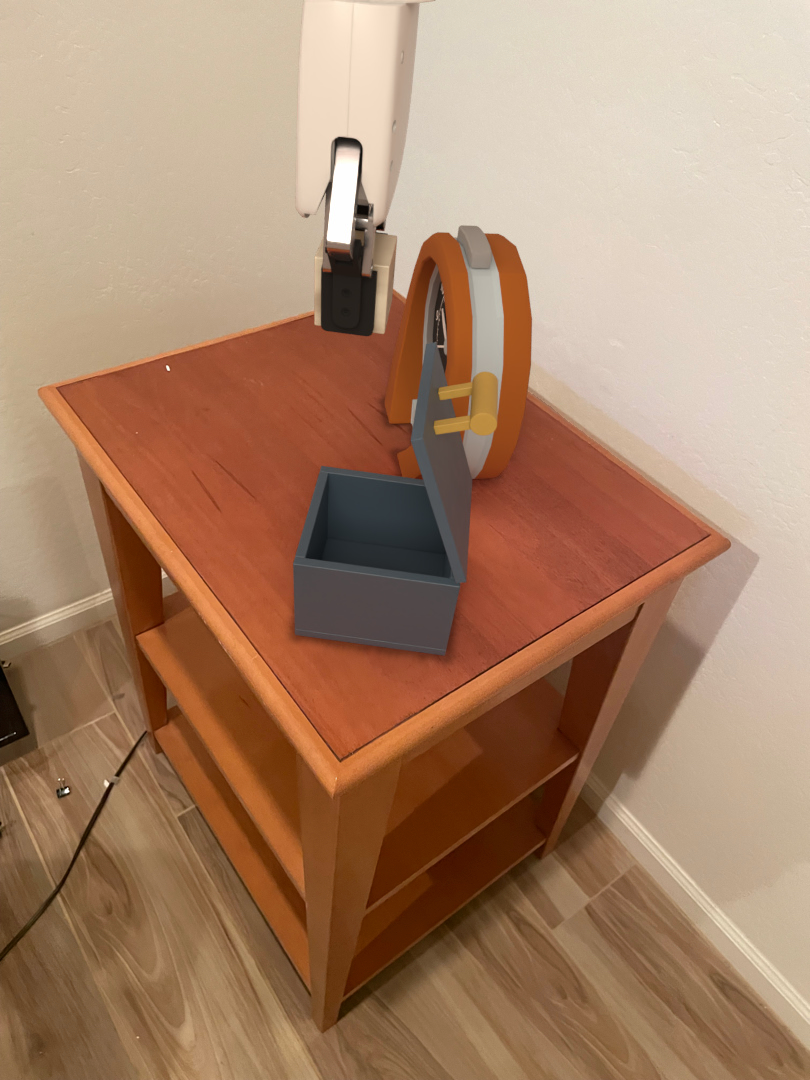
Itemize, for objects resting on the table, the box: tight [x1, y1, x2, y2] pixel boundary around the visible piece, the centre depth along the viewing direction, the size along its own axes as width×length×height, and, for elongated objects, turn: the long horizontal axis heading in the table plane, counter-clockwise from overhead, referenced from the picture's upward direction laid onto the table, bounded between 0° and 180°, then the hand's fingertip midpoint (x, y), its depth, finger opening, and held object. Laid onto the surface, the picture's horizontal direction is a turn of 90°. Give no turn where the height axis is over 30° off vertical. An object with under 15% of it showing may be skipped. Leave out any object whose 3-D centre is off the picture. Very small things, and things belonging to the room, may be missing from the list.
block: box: [313, 230, 398, 335], centre depth 45 cm, size 4×4×4 cm
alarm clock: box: [383, 224, 533, 480], centre depth 73 cm, size 22×10×23 cm, turn 9°
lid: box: [410, 342, 498, 584], centre depth 53 cm, size 13×12×5 cm
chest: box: [292, 465, 462, 657], centre depth 62 cm, size 13×12×9 cm
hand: (353, 308), depth 47 cm, fingers closed on block, 4 cm apart
